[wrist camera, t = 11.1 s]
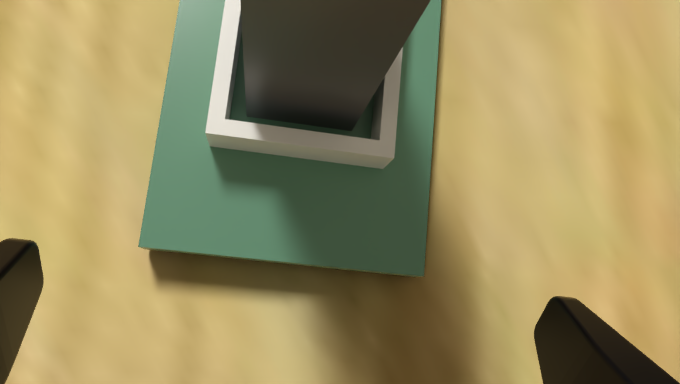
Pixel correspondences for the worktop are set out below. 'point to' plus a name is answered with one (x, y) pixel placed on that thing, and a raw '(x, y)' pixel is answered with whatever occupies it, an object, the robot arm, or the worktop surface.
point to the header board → (290, 160)
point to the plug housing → (320, 56)
